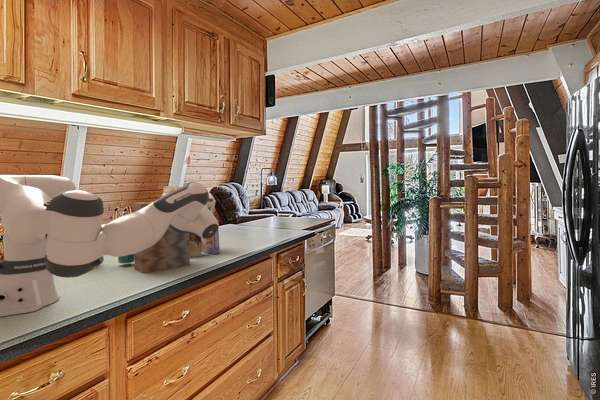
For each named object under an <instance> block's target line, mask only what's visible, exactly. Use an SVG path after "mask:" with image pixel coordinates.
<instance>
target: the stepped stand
mask: <svg viewBox="0 0 600 400" xmlns="http://www.w3.org/2000/svg"><path fill="white" fill-rule="evenodd" d="M152 202H153V201H141V202H140V201H139V202H132V213H133V212H136V211H138V210H140V209H142V208H144V207H146V206H148V205H149V204H151V203H152ZM190 258H191V257H190V246H189V233H178V232H176V231H174V230H172V229H171V228H170V226H169V227H168V228H167V230H166V232H165V233H164V235H163V236H162V238H161V239H160V240H159V241H158V242H157V243H155V244H154V245H153V246H151V247H150V248H147V249H145V250H143V251H140V252H138V253H134V262H133V263H134V266H133V267H134V269H135V270H137V271H138V272H139V273H142V274H146V273H150V272H151V273H152V272H156V271H157V272H158V271H162V270H168V269H174V268H179V267H180V268H181V267H184V266H185V267H186V266H190V265H191V264H190V263H191V259H190Z"/></svg>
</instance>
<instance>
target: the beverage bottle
mask: <svg viewBox="0 0 600 400" xmlns="http://www.w3.org/2000/svg"><path fill="white" fill-rule="evenodd" d="M117 260H118V263H119V264H130V263H134V254H131V255H126V256H120V257H117Z"/></svg>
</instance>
